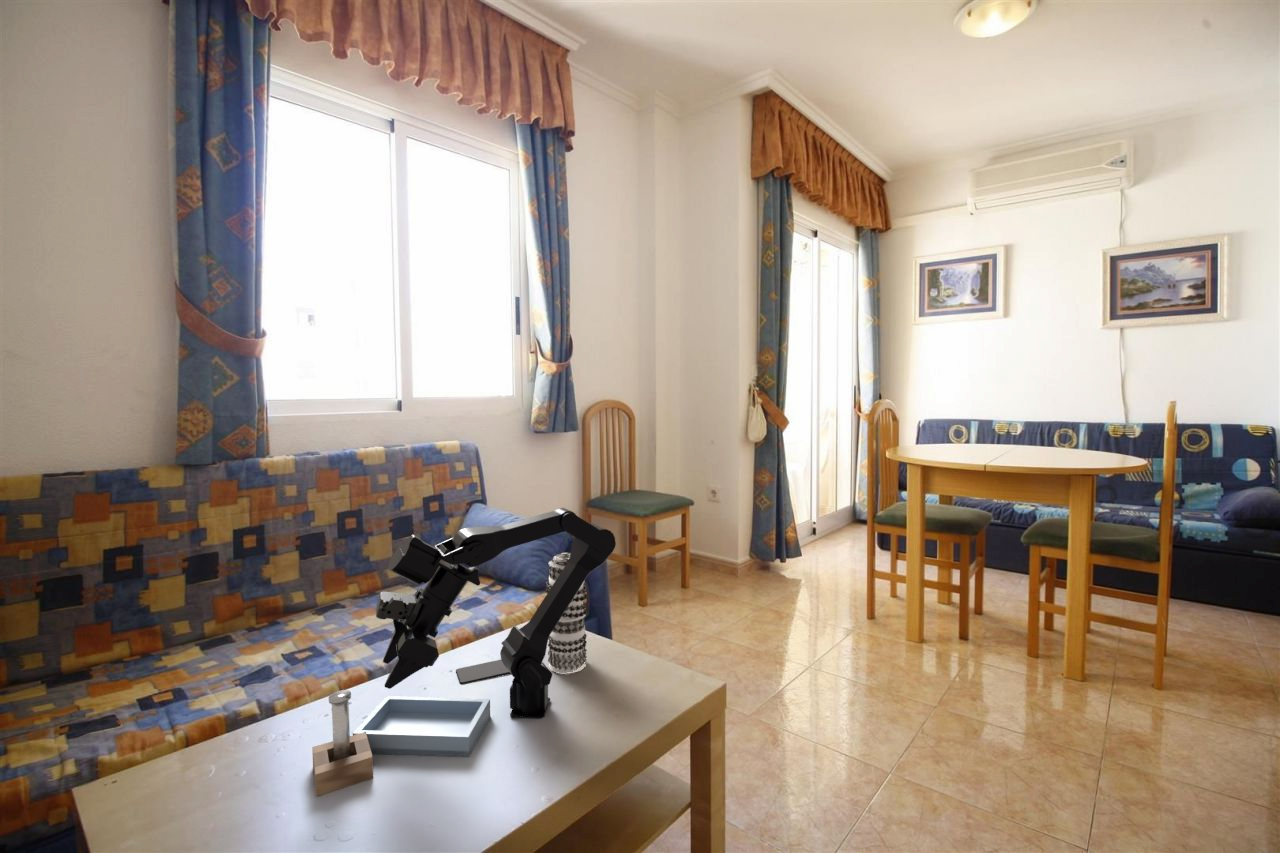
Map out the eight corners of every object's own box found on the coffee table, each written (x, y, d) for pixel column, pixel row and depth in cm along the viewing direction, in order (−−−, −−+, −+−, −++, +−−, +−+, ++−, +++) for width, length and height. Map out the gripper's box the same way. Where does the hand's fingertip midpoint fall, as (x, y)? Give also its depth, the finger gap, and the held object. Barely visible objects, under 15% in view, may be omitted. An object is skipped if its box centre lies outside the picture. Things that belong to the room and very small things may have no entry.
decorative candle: (544, 658, 135) (543, 551, 133) (584, 653, 137) (584, 548, 135) (548, 677, 126) (547, 563, 124) (591, 672, 128) (590, 560, 126)
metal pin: (357, 766, 97) (354, 690, 96) (347, 779, 93) (344, 700, 92) (338, 765, 97) (335, 689, 96) (327, 778, 94) (324, 700, 93)
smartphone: (455, 668, 129) (522, 654, 136) (455, 672, 129) (522, 658, 136) (460, 683, 123) (530, 667, 129) (460, 687, 123) (530, 671, 129)
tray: (490, 716, 111) (490, 698, 111) (468, 756, 99) (468, 736, 99) (387, 713, 112) (386, 696, 112) (353, 753, 100) (352, 733, 100)
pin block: (366, 751, 101) (365, 731, 100) (373, 777, 94) (372, 756, 94) (313, 767, 96) (312, 747, 96) (316, 796, 90) (315, 774, 89)
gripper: (396, 558, 109) (344, 633, 106) (402, 592, 92) (340, 682, 89) (447, 585, 113) (399, 658, 111) (462, 622, 96) (405, 709, 94)
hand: (386, 674), depth 101 cm, fingers open, 9 cm apart
